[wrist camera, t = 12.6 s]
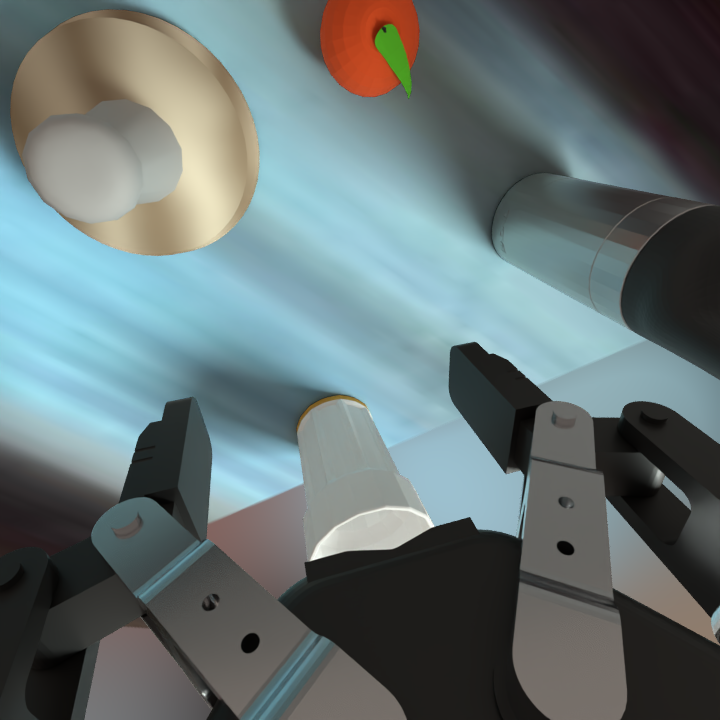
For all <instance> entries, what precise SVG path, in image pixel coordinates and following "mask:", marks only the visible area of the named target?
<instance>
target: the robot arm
mask: <svg viewBox="0 0 720 720" xmlns="http://www.w3.org/2000/svg"><path fill="white" fill-rule="evenodd" d="M492 239H493V244H494V247H495V249H496V251H497V253H498V254H499V255H500V257H501V258H502V259H503V260H505V261H506V262H508V263H510V264H511V265H513V266H515V267H517V268H519V269H521V270H522V271H524V272H526V273H527V274H529V275H531V276H533V277H535V278H536V279H538V280H540V281H542V282H544V283H546V284H547V285H549V286H551V287H553V288H555V289H556V290H558V291H560V292H562V293H564V294H566V295H567V296H569V297H571V298H573V299H575V300H576V301H578V302H580V303H582V304H584V305H586V306H587V307H589V308H591V309H593V310H595V311H596V312H598V313H600V314H602V315H604V316H606V317H608V318H610V319H611V320H613V321H615V322H617V323H619V324H620V325H622V326H624V327H626V328H628V329H629V330H631V331H633V332H635V333H637V334H638V335H640V336H642V337H644V338H646V339H648V340H650V341H652V342H654V343H656V344H658V345H659V346H661V347H663V348H665V349H667V350H669V351H671V352H673V353H674V354H676V355H678V356H680V357H681V358H683V359H685V360H687V361H689V362H690V363H692V364H694V365H696V366H698V367H699V368H701V369H703V370H704V371H706V372H708V373H709V374H711V375H712V376H714V377H716V378H718V379H719V380H720V206H716V205H712V204H706V203H701V202H696V201H691V200H686V199H680V198H674V197H669V196H664V195H658V194H653V193H648V192H643V191H638V190H633V189H627V188H622V187H617V186H612V185H607V184H601V183H596V182H591V181H586V180H581V179H577V178H571V177H566V176H561V175H555V174H549V173H538V174H534V175H531V176H528V177H526V178H524V179H522V180H521V181H519V182H518V183H516V184H515V185H514V186H513V187H512V188H511V189H510V190H509V191H508V192H507V194H506V195H505V196H504V197H503V199H502V200H501V202H500V204H499V206H498V208H497V210H496V213H495V216H494V219H493V225H492ZM449 393H450V397H451V400H452V402H453V404H454V405H455V406H456V408H457V409H458V410H459V412H460V413H461V415H462V416H463V417H464V419H465V420H466V421H467V423H468V424H469V425H470V427H471V428H472V429H473V431H474V432H475V433H476V435H477V436H478V437H479V439H480V440H481V441H482V443H483V444H484V445H485V447H486V448H487V449H488V451H489V452H490V453H491V455H492V456H493V457H494V459H495V460H496V461H497V463H498V464H499V465H500V467H501V468H502V469H503V471H504V472H505V473H506V474H509V473H513V472H516V471H520V470H521V471H522V473H523V474H524V479H523V486H522V494H521V502H520V510H519V517H518V526H517V534H516V537H515V536H512V535H509V534H506V533H502V532H497V531H492V530H477V529H476V527H475V525H474V523H473V522H472V520H471V518H470V517H469V518H465V519H461V520H458V521H454V522H451V523H447V524H443V525H439V526H436V527H432V528H430V529H428V530H426V531H425V532H423V533H421V534H420V535H418V536H416V537H414V538H413V539H411V540H409V541H407V542H406V543H404V544H402V545H400V546H399V547H397V548H394V549H387V550H357V551H345V552H341V553H338V554H334V555H330V556H327V557H323V558H319V559H316V560H312V561H309V562H305V568H306V575H307V577H305V578H304V579H302V580H300V581H298V582H297V583H296V584H294V585H293V586H292V587H290V588H289V589H288V590H287V591H286V592H285V593H284V594H282V595H281V597H279V598H278V600H277V599H276V598H274V597H273V596H272V595H271V594H270V593H269V592H268V591H267V590H265V589H264V588H263V587H262V586H261V585H260V584H259V583H258V582H256V581H255V580H254V579H253V578H252V577H251V576H250V575H249V574H247V573H246V572H245V571H244V570H243V569H242V568H241V567H240V566H239V565H237V564H236V563H235V562H234V561H233V560H232V559H231V558H230V557H228V556H227V555H226V554H225V553H224V552H223V551H221V549H219V548H218V547H217V546H216V545H215V544H214V543H213V542H211V541H210V540H208V539H206V536H207V522H208V508H209V494H210V480H211V466H212V448H211V442H210V438H209V435H208V432H207V429H206V426H205V423H204V421H203V418H202V415H201V412H200V409H199V406H198V403H197V401H196V399H195V398H194V397H190V398H185V399H180V400H175V401H170V402H167V403H166V405H165V409H164V413H163V417H162V421H157V422H152V423H150V424H149V425H148V426H147V427H146V429H145V430H144V431H143V432H142V433H141V434H140V436H139V438H138V441H137V444H136V448H135V453H134V454H133V458H132V464H130V467H129V471H128V474H127V477H126V481H125V484H124V487H123V491H122V494H121V497H120V501H119V504H117V505H116V506H114V507H112V508H111V509H110V510H108V511H107V512H106V513H105V514H104V515H103V516H102V517H101V518H100V519H99V520H98V522H97V523H96V525H95V526H94V528H93V531H92V536H90V537H89V538H87V539H85V540H83V541H81V542H79V543H77V544H75V545H73V546H71V547H69V548H67V549H65V550H63V551H61V552H59V553H57V554H55V555H52V556H50V557H49V556H48V555H47V554H46V552H45V551H44V550H42V549H40V548H37V547H27V548H22V549H18V550H15V551H13V552H10V553H8V554H6V555H4V556H2V557H1V558H0V720H84V718H85V712H86V708H87V702H88V698H89V693H90V688H91V683H92V678H93V673H94V668H95V663H96V658H97V653H98V648H99V643H100V640H101V639H102V638H104V637H106V636H107V635H109V634H111V633H113V632H114V631H116V630H118V629H119V628H121V627H123V626H125V625H126V624H128V623H130V622H131V621H133V620H135V619H137V618H138V617H141V618H142V619H143V621H144V622H145V623H146V624H147V626H148V627H149V628H150V629H151V631H152V632H153V633H154V634H155V636H156V637H157V638H158V640H159V641H160V642H161V643H162V645H163V646H164V647H165V648H166V650H167V651H168V652H169V653H170V655H171V656H172V657H173V658H174V660H175V661H176V662H177V664H178V665H179V666H180V668H181V669H182V670H183V672H184V673H185V674H186V676H187V677H188V679H189V680H190V681H191V683H192V684H193V686H194V687H195V688H196V690H197V691H198V693H199V694H200V695H201V697H202V698H203V699H204V700H205V702H206V703H207V704H208V706H209V707H210V708H211V709H212V711H211V713H210V714H209V716H208V718H207V720H720V646H719V645H717V644H716V643H714V642H712V641H710V640H708V639H706V638H705V637H703V636H701V635H699V634H697V633H695V632H693V631H691V630H690V629H687V628H686V627H684V626H682V625H680V624H679V623H677V622H675V621H673V620H671V619H669V618H667V617H666V616H664V615H662V614H660V613H658V612H656V611H654V610H652V609H651V608H649V607H647V606H645V605H643V604H641V603H639V602H638V601H636V600H634V599H632V598H630V597H628V596H627V595H625V594H623V593H621V592H619V591H617V590H615V589H614V588H612V577H611V576H612V575H611V563H610V550H609V537H608V524H607V512H606V499H605V497H606V498H607V499H608V501H609V502H610V503H611V504H612V505H613V506H614V507H615V509H616V510H617V511H618V512H619V513H620V514H621V515H622V517H623V518H624V519H625V520H626V521H627V522H628V523H629V525H630V526H631V527H632V528H633V529H634V530H635V531H636V533H637V534H638V535H639V536H640V537H641V538H642V539H643V541H644V542H645V543H646V544H647V545H648V546H649V548H650V549H651V550H652V551H653V552H654V553H655V554H656V556H657V557H658V558H659V559H660V560H661V561H662V562H663V564H664V565H665V566H666V567H667V568H668V569H669V570H670V571H671V573H672V574H673V575H674V576H675V577H676V578H677V580H678V581H679V582H680V583H681V584H682V585H683V586H684V587H685V589H686V590H687V591H688V592H689V593H690V594H691V596H692V597H693V598H694V599H695V600H696V601H697V602H698V604H699V605H700V606H701V607H702V608H703V609H704V610H705V612H706V613H707V614H708V615H709V616H710V617H711V625H712V629H713V632H714V635H715V637H716V638H717V640H718V642H719V644H720V444H718V443H717V442H716V441H714V440H713V439H712V438H710V437H709V436H708V435H706V434H705V433H703V432H702V431H701V430H700V429H698V428H697V427H695V426H694V425H693V424H691V423H690V422H689V421H687V420H686V419H685V418H683V417H682V416H680V415H679V414H678V413H676V412H675V411H673V410H671V409H670V408H667V407H665V406H662V405H660V404H656V403H652V402H643V401H638V402H632V403H629V404H627V405H625V406H624V408H623V411H622V414H621V417H620V418H594V417H591V416H590V414H589V413H588V412H586V411H585V410H584V409H582V408H581V407H579V406H576V405H574V404H571V403H567V402H561V401H552V400H551V399H550V398H549V397H548V396H547V395H546V394H544V393H543V392H542V391H541V390H540V389H539V388H538V387H537V386H536V385H535V384H533V383H532V382H531V381H530V380H529V379H528V378H526V377H525V375H524V374H522V373H521V372H520V371H518V370H517V368H516V367H515V366H514V365H513V364H512V363H510V362H509V361H508V360H507V359H504V358H502V357H500V356H498V355H496V354H488V353H487V352H486V351H485V350H484V349H483V348H482V347H481V346H480V345H479V344H478V343H476V342H471V343H466V344H461V345H456V346H453V347H452V348H451V351H450V366H449ZM665 476H666V477H668V478H669V479H670V480H671V481H672V482H673V483H674V484H675V485H676V486H677V487H679V489H681V490H682V491H683V492H684V493H685V495H686V496H687V498H688V499H689V501H690V504H691V510H690V509H689V508H687V507H686V506H685V505H684V504H683V503H682V502H681V501H680V500H679V499H678V498H677V497H676V496H675V495H674V494H673V493H672V492H670V490H668V489H667V488H666V487H665V486H664V485H663V484H662V482H663V480H664V477H665Z"/></svg>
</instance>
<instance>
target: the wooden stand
mask: <svg viewBox="0 0 720 720" xmlns="http://www.w3.org/2000/svg"><path fill="white" fill-rule="evenodd" d="M121 99H127V100H130V101H132V102H135V103H138V104H140V105H143V106H146V107H148V108H151V109H152V110H153V111H154V112H155V113H156V114H157V115H158V116H159V117H160V118H162V119H163V120H164V121H165V122H166V123H167V124H168V125H169V126H170V127H171V129H172V131H173V133H174V135H175V137H176V139H177V141H178V143H179V145H180V147H181V149H182V167H183V172H182V174H181V177H180V179H179V181H178V184H177V186H176V189H175V190H174V191H173V192H171V193H170V194H169V195H167V196H166V197H164V198H163V199H161V200H160V201H157V202H150V203H144V204H136V206H135V208H133V209H132V210H131V211H129V212H128V213H126V214H125V215H124V216H122V217H121V218H119V219H118V220H113V221H106V222H100V223H93V224H89V223H86V222H82V221H79V220H75V219H72V218H68V217H65V216H64V215H62V214H61V213H60V212H58V211H57V210H56V211H57V212H58V213H59V214H60V215H61V216H62V217H63V218H64V219H65V220H66V221H68V222H69V223H70V224H71V225H73V226H74V227H75V228H77V229H78V230H80V231H81V232H83V233H84V234H86V235H87V236H89V237H91V238H93V239H95V240H97V241H99V242H101V243H102V244H105V245H107V246H110V247H113V248H115V249H118V250H122V251H125V252H129V253H134V254H140V255H152V256H161V255H172V254H177V253H183V252H188V251H193V250H196V249H199V248H202V247H205V246H207V245H209V244H211V243H213V242H215V241H217V240H218V239H219V238H221V237H222V236H224V235H225V234H227V233H228V232H229V231H230V230H231V229H232V228H233V227H234V226H235V225H236V224H237V222H238V221H239V220H240V219H241V217H242V216H243V215H244V213H245V211H246V209H247V208H248V206H249V204H250V202H251V199H252V197H253V194H254V192H255V188H256V184H257V180H258V172H259V145H258V137H257V133H256V129H255V124H254V121H253V118H252V115H251V112H250V110H249V107H248V105H247V103H246V100H245V98H244V96H243V94H242V92H241V90H240V89H239V87H238V86H237V84H236V82H235V81H234V79H233V78H232V76H231V75H230V74H229V72H228V71H227V70H226V69H225V67H224V66H223V65H222V64H221V62H220V61H219V60H218V59H217V58H216V57H215V56H214V55H213V54H212V53H211V52H210V51H209V50H208V49H207V48H206V47H204V46H203V45H202V44H201V43H200V42H198V41H197V40H196V39H195V38H193V37H192V36H190V35H189V34H187V33H186V32H184V31H182V30H181V29H179V28H178V27H176V26H174V25H172V24H170V23H168V22H165V21H163V20H161V19H159V18H156V17H153V16H150V15H147V14H143V13H139V12H133V11H128V10H110V9H107V10H99V11H91V12H87V13H84V14H81V15H78V16H74V17H72V18H71V19H69V20H67V21H65V22H63V23H61V24H59V25H58V26H57V27H55V28H54V29H53V30H52V31H50V32H49V33H48V34H46V35H45V36H44V37H42V38H41V39H40V40H39V41H37V43H36V44H35V45H34V46H33V47H32V48H31V49H30V51H29V52H28V53H27V54H26V56H25V58H24V60H23V61H22V63H21V65H20V66H19V69H18V72H17V74H16V77H15V80H14V83H13V89H12V94H11V109H10V115H11V124H12V132H13V136H14V140H15V144H16V148H17V150H18V153H19V155H20V158H21V161H22V163H23V165H24V161H23V157H22V153H23V150H24V147H25V144H26V141H27V137H28V134H29V133H30V132H31V131H32V130H33V129H35V128H36V127H37V126H38V125H40V124H41V123H42V122H43V121H45V120H46V119H47V118H48V117H50V116H51V115H63V114H75V113H78V114H83V115H85V114H86V113H87V112H89V111H90V110H91V109H93V108H94V107H95V106H96V105H98V104H99V103H100V102H102V101H110V100H121ZM24 167H25V165H24Z"/></svg>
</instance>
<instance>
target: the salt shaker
mask: <svg viewBox="0 0 720 720" xmlns="http://www.w3.org/2000/svg"><path fill="white" fill-rule="evenodd" d="M22 157H23V161H24V165H25V170H26V174H27V178H28V180H29V182H30V183H31V185H32V186H33V187H34V189H35V190H36V192H37V193H38V195H39V196H40V197H41V199H42V200H43V202H45V203H46V204H48V205H49V206H51V207H52V208H54V209H55V210H57V211H58V212H60V213H61V214H62V215H64V216H65V217H68V218H72V219H75V220H79V221H82V222H86V223H89V224H93V223H100V222H106V221H113V220H118V219H119V218H121V217H122V216H124V215H125V214H126V213H128V212H129V211H131V210H132V209H133V208H135V206H136V204H144V203H150V202H157V201H160V200H161V199H163V198H164V197H166V196H167V195H169V194H170V193H171V192H173V191H174V190H175V189H176V186H177V184H178V181H179V179H180V177H181V174H182V172H183V167H182V149H181V147H180V145H179V143H178V141H177V139H176V137H175V135H174V133H173V131H172V129H171V127H170V126H169V125H168V124H167V123H166V122H165V121H164V120H163V119H162V118H160V117H159V116H158V115H157V114H156V113H155V112H154V111H153V110H152V109H151V108H148V107H146V106H143V105H140V104H138V103H135V102H132V101H130V100H127V99H121V100H110V101H102V102H100V103H99V104H98V105H96V106H95V107H94V108H93V109H91V110H90V111H89V112H87V113H86V114H85V115H83V114H78V113H75V114H63V115H51V116H50V117H48V118H47V119H46V120H45V121H43V122H42V123H41V124H40V125H38V126H37V127H36V128H35V129H33V130H32V131H31V132H30V133H29V134H28V137H27V141H26V144H25V147H24V150H23V153H22Z"/></svg>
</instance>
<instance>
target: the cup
mask: <svg viewBox="0 0 720 720" xmlns="http://www.w3.org/2000/svg"><path fill="white" fill-rule="evenodd" d="M296 430H297V437H298V444H299V451H300V458H301V466H302V473H303V480H304V487H305V494H306V500H307V511H306V513H305V516H304V518H303V526H304V534H305V542H306V550H307V558H308V562H309V561H312V560H316V559H319V558H323V557H327V556H330V555H334V554H338V553H341V552H345V551H357V550H387V549H394V548H397V547H399V546H400V545H402V544H404V543H406V542H407V541H409V540H411V539H413V538H414V537H416V536H418V535H420V534H421V533H423V532H425V531H426V530H428V529H430V528H432V527H435V526H434V525H433V523H432V521H431V519H430V517H429V515H428V513H427V512H426V509H425V508H424V506H423V504H422V502H421V500H420V498H419V496H418V494H417V492H416V491H415V489H414V487H413V486H412V484H411V482H410V480H409V479H407V478H405V477H403V476H401V475H400V474H399V472H398V470H397V468H396V466H395V464H394V462H393V460H392V458H391V456H390V454H389V452H388V450H387V448H386V446H385V444H384V442H383V440H382V438H381V436H380V434H379V432H378V430H377V428H376V426H375V424H374V422H373V419H372V416H371V414H370V412H369V410H368V408H367V407H366V405H365V404H364V403H362V402H361V401H359V400H357V399H355V398H353V397H349V396H342V395H337V396H331V397H327V398H324V399H321V400H319V401H317V402H315V403H314V404H312V405H310V406H309V407H308V408H307V410H306V411H305V412H304V413H303V414H302V416H301V417H300V420H299V422H298V425H297V428H296Z"/></svg>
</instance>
